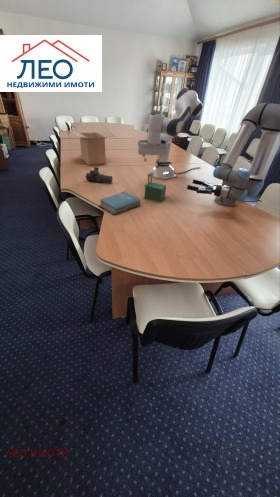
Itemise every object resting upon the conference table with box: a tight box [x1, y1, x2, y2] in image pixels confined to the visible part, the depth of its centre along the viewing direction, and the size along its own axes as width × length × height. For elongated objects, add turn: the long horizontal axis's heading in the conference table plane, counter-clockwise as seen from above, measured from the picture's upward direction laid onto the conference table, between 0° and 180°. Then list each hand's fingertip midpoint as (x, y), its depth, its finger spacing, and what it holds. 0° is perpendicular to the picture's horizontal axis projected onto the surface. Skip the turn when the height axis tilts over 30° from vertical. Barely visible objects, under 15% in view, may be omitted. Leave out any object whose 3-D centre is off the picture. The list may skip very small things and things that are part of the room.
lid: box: [143, 171, 167, 190], centre depth 161 cm, size 14×10×9 cm
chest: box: [144, 186, 167, 203], centre depth 166 cm, size 13×10×9 cm
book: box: [99, 191, 141, 215], centre depth 152 cm, size 23×16×5 cm
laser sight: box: [85, 166, 113, 184], centre depth 186 cm, size 10×22×10 cm, turn 78°
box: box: [70, 129, 114, 166], centre depth 229 cm, size 44×36×27 cm
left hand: (151, 161), depth 155 cm, fingers open, 8 cm apart
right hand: (190, 184), depth 152 cm, fingers open, 13 cm apart
